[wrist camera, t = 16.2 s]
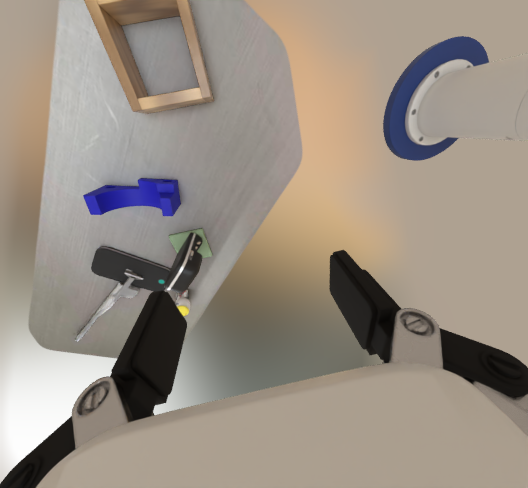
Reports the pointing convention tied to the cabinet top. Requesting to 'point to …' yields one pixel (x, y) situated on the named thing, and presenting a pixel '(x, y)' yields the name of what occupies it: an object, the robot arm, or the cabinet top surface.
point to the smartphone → (117, 262)
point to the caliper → (114, 299)
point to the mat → (181, 237)
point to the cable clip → (136, 196)
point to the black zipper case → (185, 265)
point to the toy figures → (183, 302)
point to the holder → (109, 28)
